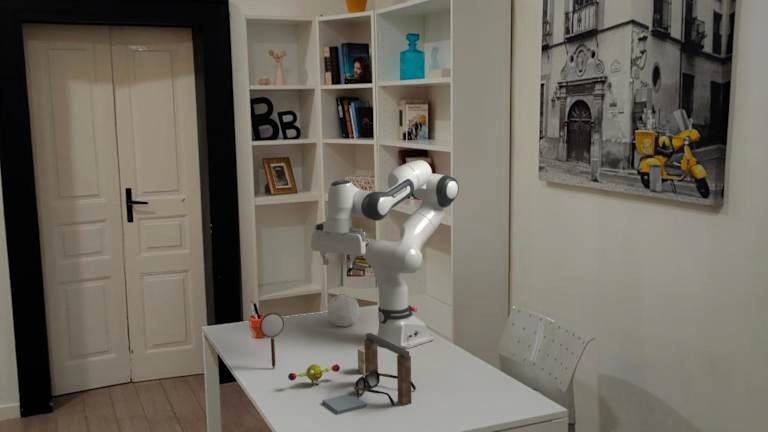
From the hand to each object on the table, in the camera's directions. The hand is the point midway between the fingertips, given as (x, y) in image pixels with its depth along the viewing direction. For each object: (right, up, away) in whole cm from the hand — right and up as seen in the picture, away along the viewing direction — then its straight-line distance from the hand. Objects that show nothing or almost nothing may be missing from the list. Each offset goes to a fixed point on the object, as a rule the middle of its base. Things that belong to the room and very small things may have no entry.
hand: (337, 266), depth 264 cm
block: (+10, -36, -6) cm, 38 cm away
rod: (+17, -24, -27) cm, 40 cm away
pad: (+4, -40, -34) cm, 53 cm away
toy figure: (-6, -38, -17) cm, 42 cm away
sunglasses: (+16, -39, -26) cm, 50 cm away
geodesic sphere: (0, -28, +48) cm, 56 cm away
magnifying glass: (-22, -36, -1) cm, 42 cm away
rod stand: (+18, -39, -25) cm, 49 cm away
